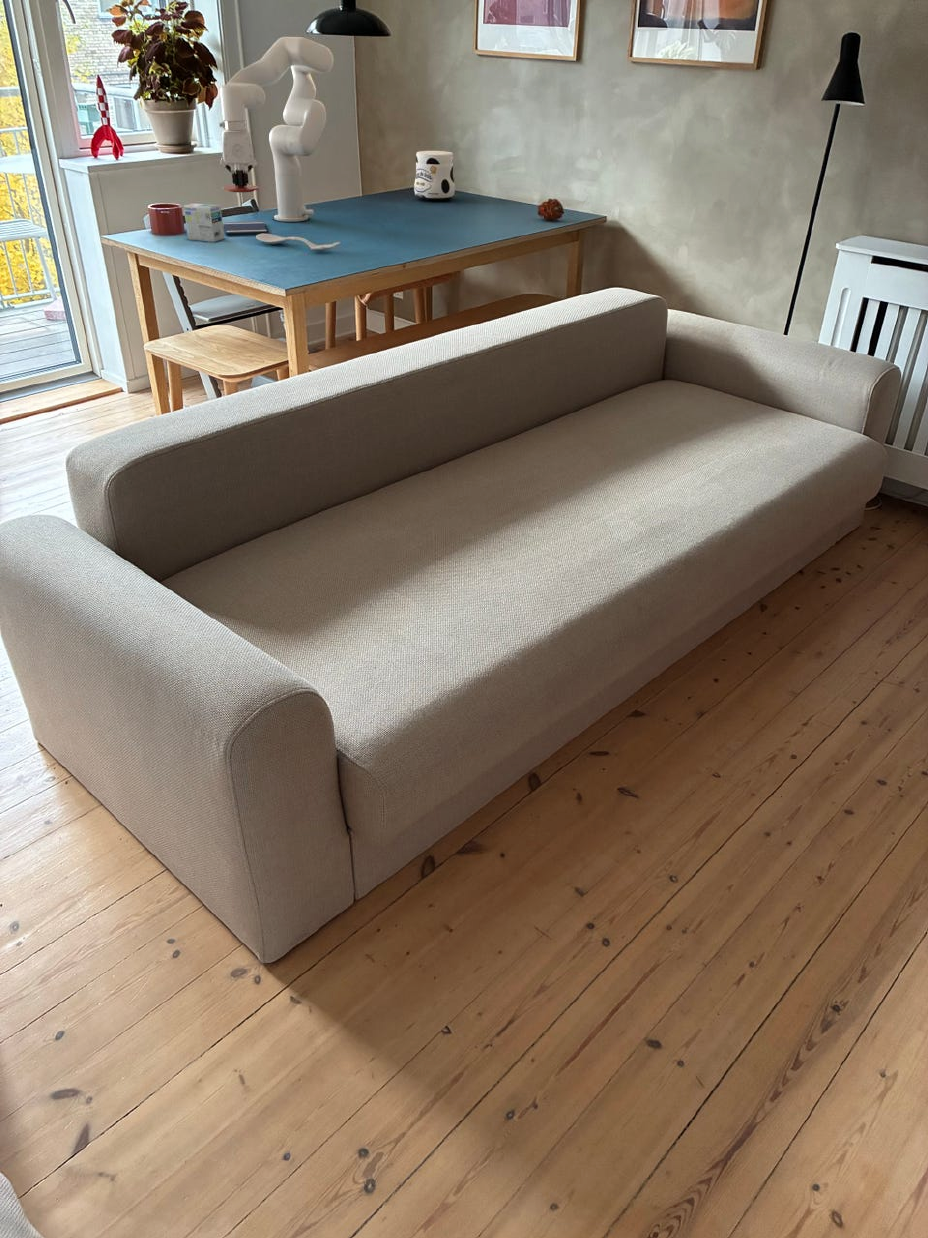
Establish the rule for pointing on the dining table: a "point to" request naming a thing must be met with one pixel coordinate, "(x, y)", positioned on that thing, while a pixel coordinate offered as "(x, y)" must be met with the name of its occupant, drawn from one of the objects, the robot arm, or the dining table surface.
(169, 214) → the pot
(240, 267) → the dining table surface
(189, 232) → the light bulb box
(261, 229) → the blue-grey flat slab
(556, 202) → the red-brown bumpy ovoid
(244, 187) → the pot lid
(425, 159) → the milk container
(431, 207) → the dining table surface
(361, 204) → the dining table surface
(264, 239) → the spoon
